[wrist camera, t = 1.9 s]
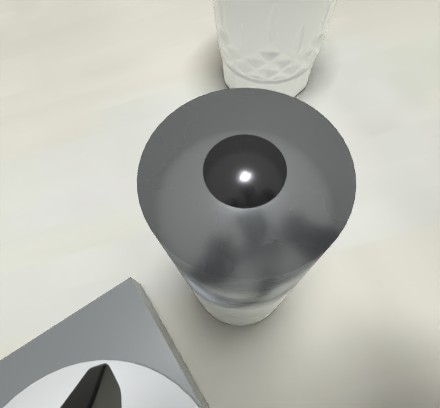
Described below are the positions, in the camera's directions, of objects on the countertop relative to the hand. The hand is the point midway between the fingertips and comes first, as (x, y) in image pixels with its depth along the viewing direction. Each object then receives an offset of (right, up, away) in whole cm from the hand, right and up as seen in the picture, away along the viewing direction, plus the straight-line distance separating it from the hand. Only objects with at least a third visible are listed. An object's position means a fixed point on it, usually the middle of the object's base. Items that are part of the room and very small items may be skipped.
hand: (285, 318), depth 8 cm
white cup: (+2, +13, +18) cm, 22 cm away
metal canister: (-1, -1, +11) cm, 11 cm away
